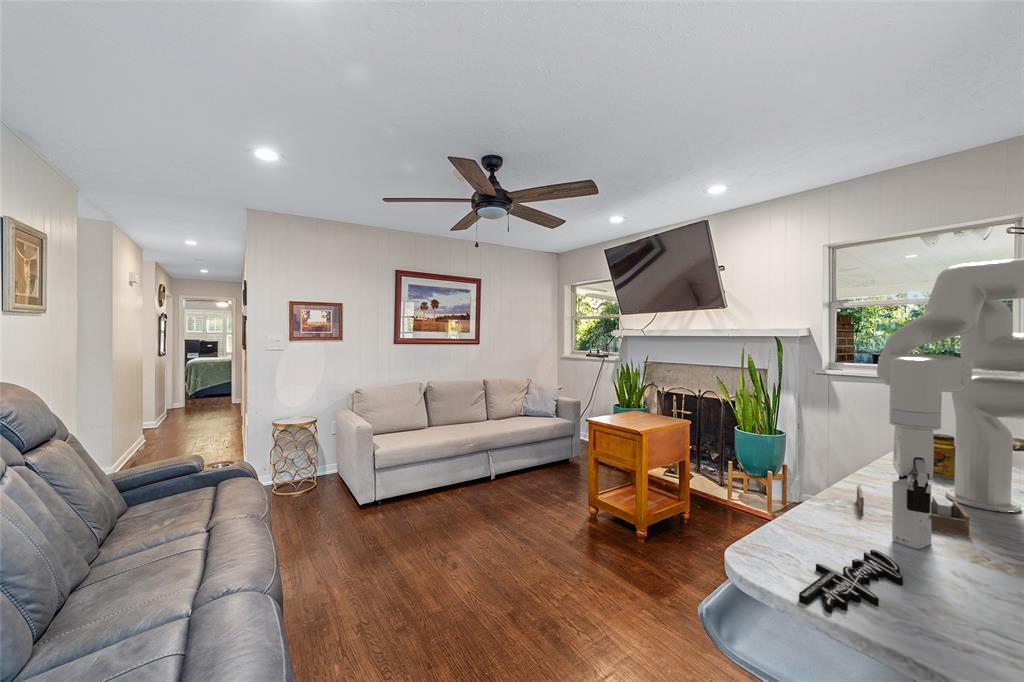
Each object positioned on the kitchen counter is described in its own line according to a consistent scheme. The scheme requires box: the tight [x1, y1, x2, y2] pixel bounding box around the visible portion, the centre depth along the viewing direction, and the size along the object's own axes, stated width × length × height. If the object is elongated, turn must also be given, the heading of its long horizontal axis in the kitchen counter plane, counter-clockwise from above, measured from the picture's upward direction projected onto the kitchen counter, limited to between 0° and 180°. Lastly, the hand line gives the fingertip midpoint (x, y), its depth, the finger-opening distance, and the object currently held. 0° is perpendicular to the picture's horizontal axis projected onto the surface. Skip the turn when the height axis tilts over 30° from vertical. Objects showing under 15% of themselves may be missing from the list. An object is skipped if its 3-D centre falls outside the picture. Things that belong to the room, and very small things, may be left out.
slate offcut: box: [931, 495, 951, 517], centre depth 94 cm, size 6×2×5 cm, turn 144°
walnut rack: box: [856, 484, 970, 537], centre depth 97 cm, size 10×18×4 cm, turn 54°
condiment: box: [933, 433, 956, 480], centre depth 127 cm, size 7×8×12 cm
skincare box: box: [891, 478, 932, 550], centre depth 86 cm, size 6×4×12 cm
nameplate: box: [798, 549, 904, 614], centre depth 72 cm, size 27×2×10 cm
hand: (913, 502), depth 85 cm, fingers open, 9 cm apart
